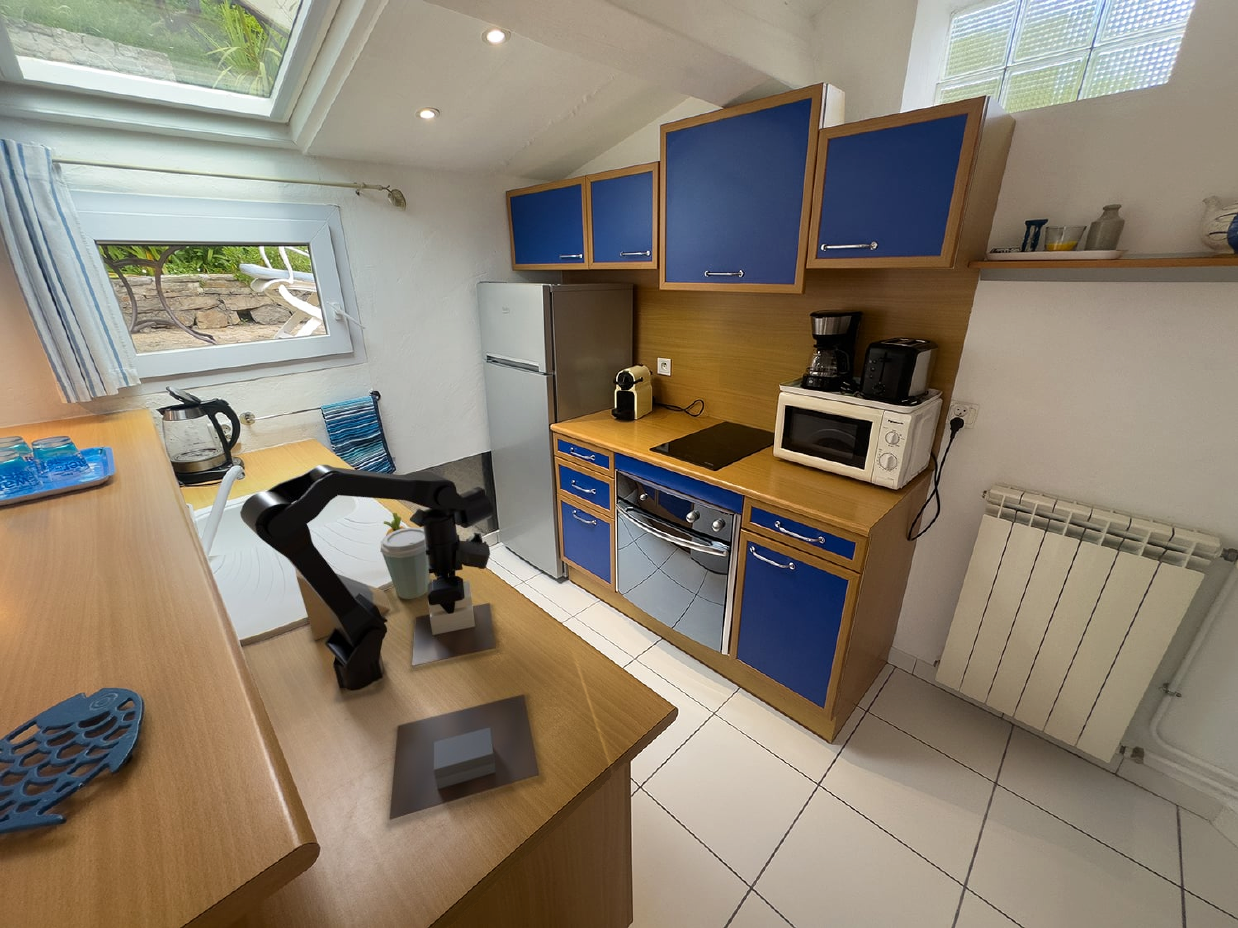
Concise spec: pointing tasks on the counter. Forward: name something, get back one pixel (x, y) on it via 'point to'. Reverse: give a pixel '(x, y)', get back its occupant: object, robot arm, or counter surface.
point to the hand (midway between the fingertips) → (450, 604)
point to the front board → (417, 738)
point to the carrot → (394, 524)
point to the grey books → (463, 758)
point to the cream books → (452, 620)
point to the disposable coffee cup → (407, 561)
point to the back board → (453, 638)
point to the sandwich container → (320, 611)
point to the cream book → (458, 604)
